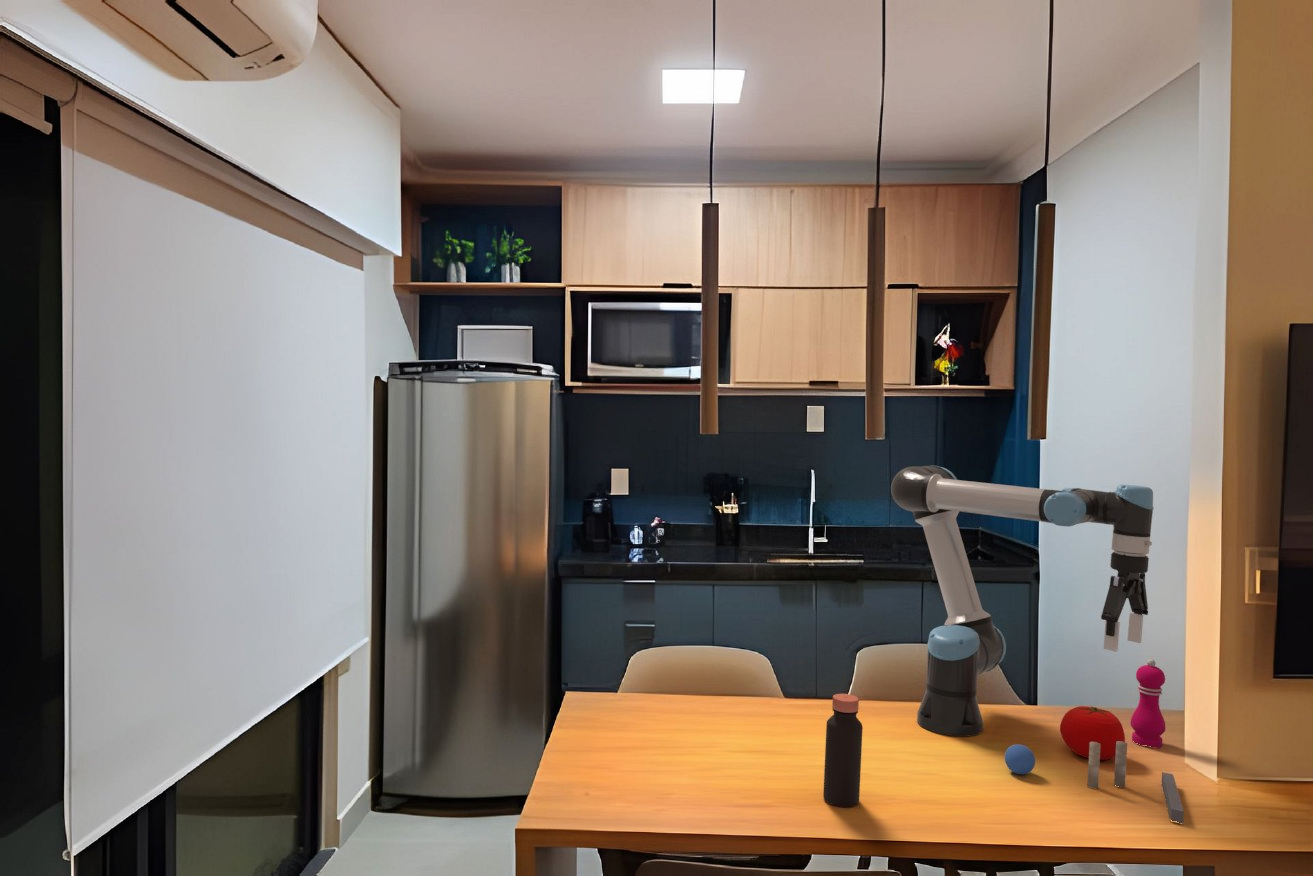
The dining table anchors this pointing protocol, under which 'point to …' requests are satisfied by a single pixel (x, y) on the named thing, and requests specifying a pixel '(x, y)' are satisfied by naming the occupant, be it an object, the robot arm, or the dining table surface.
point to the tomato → (1091, 731)
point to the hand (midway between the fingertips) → (1122, 645)
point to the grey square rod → (1172, 797)
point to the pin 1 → (1093, 764)
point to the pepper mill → (1148, 706)
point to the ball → (1019, 759)
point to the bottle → (843, 753)
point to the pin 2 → (1120, 764)
